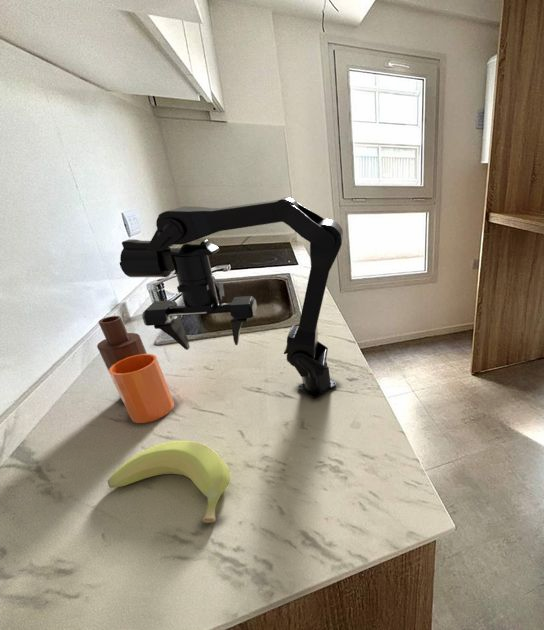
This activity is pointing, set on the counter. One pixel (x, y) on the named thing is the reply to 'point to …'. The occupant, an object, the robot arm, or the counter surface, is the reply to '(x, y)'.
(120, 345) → the sauce bottle
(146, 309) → the robot arm
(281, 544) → the counter surface
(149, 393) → the orange plastic tumbler
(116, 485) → the banana
